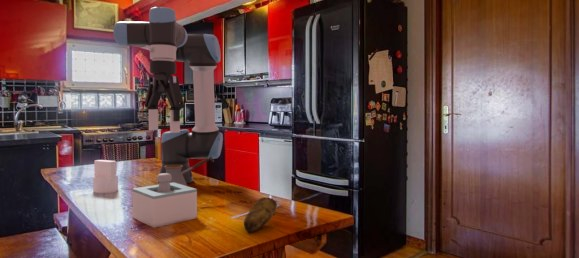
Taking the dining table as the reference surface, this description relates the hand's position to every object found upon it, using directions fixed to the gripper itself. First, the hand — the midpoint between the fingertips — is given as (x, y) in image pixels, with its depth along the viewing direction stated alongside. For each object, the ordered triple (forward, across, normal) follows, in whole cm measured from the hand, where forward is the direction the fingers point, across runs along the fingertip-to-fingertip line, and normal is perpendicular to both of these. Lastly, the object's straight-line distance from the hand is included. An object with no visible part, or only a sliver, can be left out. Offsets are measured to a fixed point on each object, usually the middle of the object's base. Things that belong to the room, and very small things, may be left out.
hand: (163, 131), depth 119 cm
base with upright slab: (+27, -51, +1) cm, 57 cm away
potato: (+27, +27, +15) cm, 41 cm away
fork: (+27, +14, +24) cm, 39 cm away
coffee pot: (+27, -16, +17) cm, 35 cm away
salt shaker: (+26, 0, 0) cm, 26 cm away
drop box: (+27, 0, 0) cm, 27 cm away
